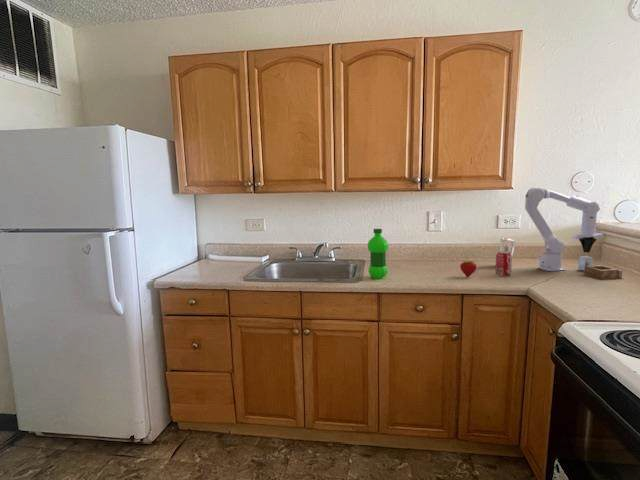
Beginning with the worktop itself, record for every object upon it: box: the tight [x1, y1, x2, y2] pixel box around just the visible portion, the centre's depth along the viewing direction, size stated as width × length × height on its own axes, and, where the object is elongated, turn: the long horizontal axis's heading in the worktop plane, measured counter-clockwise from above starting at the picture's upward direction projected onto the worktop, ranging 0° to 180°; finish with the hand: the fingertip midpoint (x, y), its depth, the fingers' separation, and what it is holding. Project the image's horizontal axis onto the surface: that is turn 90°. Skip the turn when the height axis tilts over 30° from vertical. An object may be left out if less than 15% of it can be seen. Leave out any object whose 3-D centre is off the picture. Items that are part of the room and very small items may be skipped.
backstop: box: [617, 269, 623, 279], centre depth 170 cm, size 2×10×4 cm, turn 6°
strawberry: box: [459, 259, 477, 278], centre depth 175 cm, size 6×8×10 cm
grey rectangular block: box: [577, 255, 594, 272], centre depth 180 cm, size 4×4×7 cm
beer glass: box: [499, 237, 515, 257], centre depth 194 cm, size 7×7×15 cm
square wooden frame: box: [583, 264, 620, 280], centre depth 169 cm, size 9×9×4 cm
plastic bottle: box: [367, 228, 389, 280], centre depth 179 cm, size 10×10×25 cm
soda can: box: [495, 250, 513, 278], centre depth 176 cm, size 7×7×12 cm
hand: (586, 252), depth 179 cm, fingers closed
